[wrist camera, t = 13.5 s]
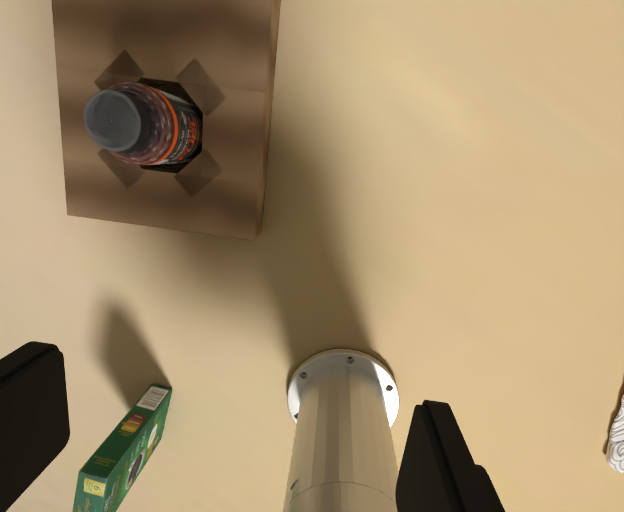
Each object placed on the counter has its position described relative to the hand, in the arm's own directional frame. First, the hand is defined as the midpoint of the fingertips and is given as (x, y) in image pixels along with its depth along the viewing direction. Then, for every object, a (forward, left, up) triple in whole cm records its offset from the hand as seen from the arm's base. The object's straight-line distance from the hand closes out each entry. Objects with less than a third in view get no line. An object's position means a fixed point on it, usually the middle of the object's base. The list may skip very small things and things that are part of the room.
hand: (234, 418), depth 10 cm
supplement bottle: (+7, +14, -28) cm, 32 cm away
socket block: (+8, +14, -28) cm, 33 cm away
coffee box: (-26, +16, -28) cm, 42 cm away
